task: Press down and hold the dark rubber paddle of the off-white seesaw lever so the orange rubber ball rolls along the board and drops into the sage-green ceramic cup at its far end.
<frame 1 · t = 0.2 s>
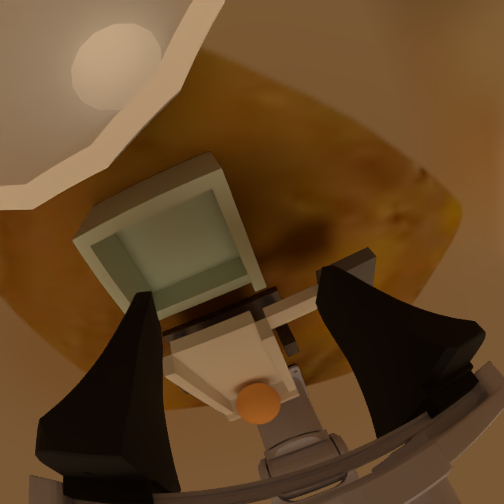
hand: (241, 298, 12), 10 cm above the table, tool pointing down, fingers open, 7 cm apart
lever stand: (225, 324, 26), on the table
ball: (258, 403, 23), point 7 cm above the table, touching lever board
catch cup: (174, 232, 20), on the table
foam cup: (117, 66, 13), on the table
lever board: (282, 347, 22), point 5 cm above the table, hinge at -10.0°, touching ball
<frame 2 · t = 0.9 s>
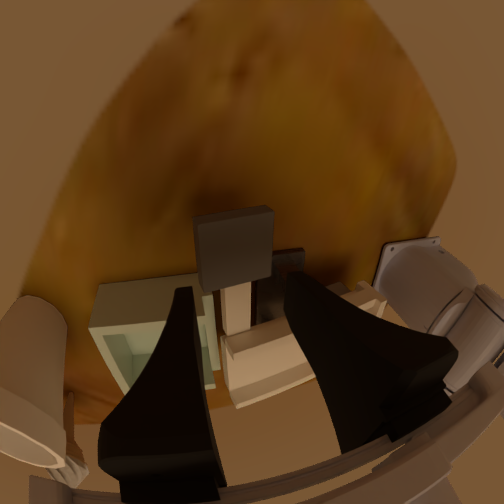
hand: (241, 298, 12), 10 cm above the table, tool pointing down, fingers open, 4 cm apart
lever stand: (275, 303, 26), on the table
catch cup: (161, 319, 24), on the table
foam cup: (39, 320, 20), on the table
ice cream cone: (71, 390, 26), on the table
lever board: (300, 305, 20), point 5 cm above the table, hinge at -10.0°, touching ball
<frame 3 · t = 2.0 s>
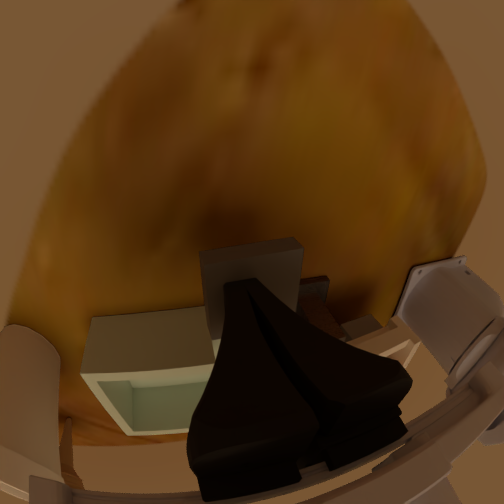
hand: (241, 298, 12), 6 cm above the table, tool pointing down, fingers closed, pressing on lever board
lever stand: (293, 334, 23), on the table
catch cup: (164, 353, 20), on the table
foam cup: (30, 349, 17), on the table
ice cream cone: (68, 416, 23), on the table
lever board: (326, 346, 16), point 5 cm above the table, hinge at -5.1°, touching ball, gripper
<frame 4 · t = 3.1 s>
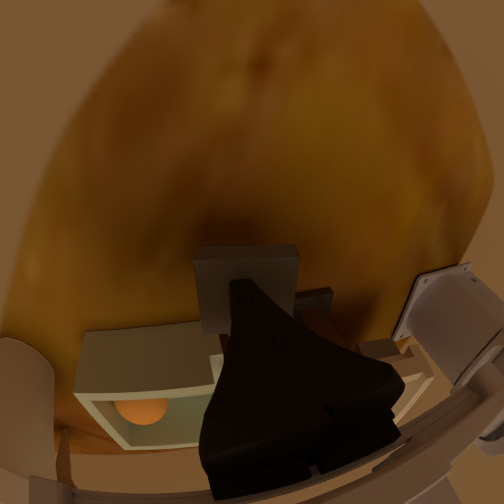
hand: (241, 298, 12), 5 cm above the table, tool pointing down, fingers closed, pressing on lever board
lever stand: (294, 346, 21), on the table
ball: (140, 398, 17), point 3 cm above the table, tilted 122°, touching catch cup
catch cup: (160, 368, 19), on the table
foam cup: (23, 361, 16), on the table
ice cream cone: (65, 426, 22), on the table
lever board: (330, 363, 15), point 5 cm above the table, hinge at 10.1°, touching gripper
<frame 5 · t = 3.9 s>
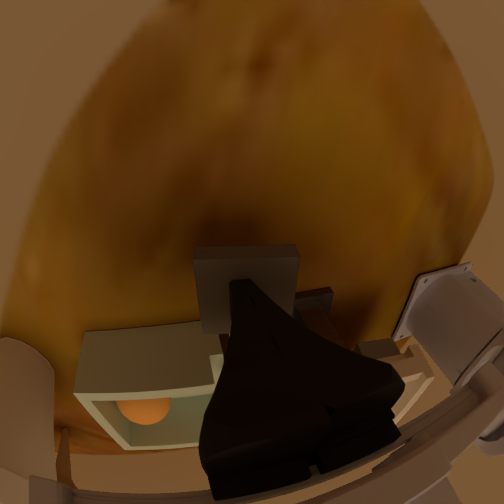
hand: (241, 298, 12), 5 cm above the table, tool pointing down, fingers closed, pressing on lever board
lever stand: (294, 346, 21), on the table
ball: (142, 397, 17), point 3 cm above the table, tilted 117°, touching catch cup
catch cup: (160, 368, 19), on the table
foam cup: (23, 361, 16), on the table
ice cream cone: (65, 426, 22), on the table
lever board: (330, 363, 15), point 5 cm above the table, hinge at 10.1°, touching gripper
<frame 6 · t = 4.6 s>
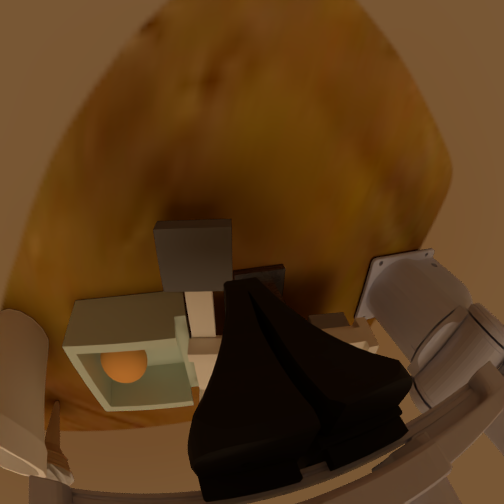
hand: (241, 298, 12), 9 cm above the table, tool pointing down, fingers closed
lever stand: (256, 319, 25), on the table
ball: (123, 359, 20), point 3 cm above the table, tilted 112°, touching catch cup
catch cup: (139, 335, 22), on the table
foam cup: (22, 332, 19), on the table
ice cream cone: (57, 399, 25), on the table
lever board: (276, 327, 19), point 5 cm above the table, hinge at 10.1°
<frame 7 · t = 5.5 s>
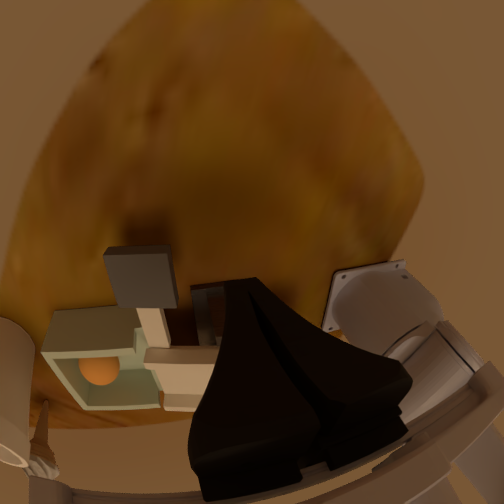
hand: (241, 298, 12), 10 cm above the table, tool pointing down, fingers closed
lever stand: (218, 330, 26), on the table
ball: (98, 363, 21), point 3 cm above the table, tilted 106°, touching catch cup
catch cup: (111, 342, 23), on the table
foam cup: (11, 337, 20), on the table
ice cream cone: (46, 398, 26), on the table
lever board: (225, 340, 20), point 5 cm above the table, hinge at 10.1°
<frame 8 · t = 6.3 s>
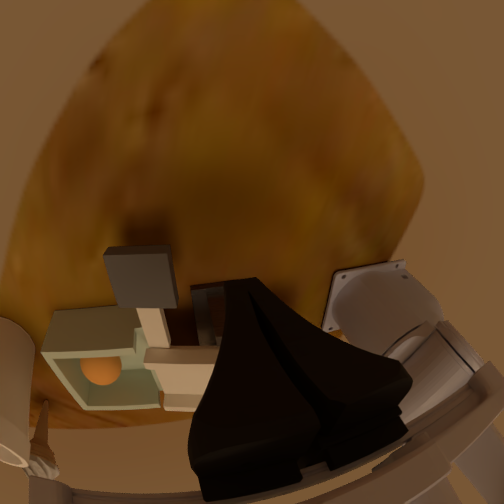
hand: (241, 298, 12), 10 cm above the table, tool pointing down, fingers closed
lever stand: (218, 330, 26), on the table
ball: (100, 363, 21), point 3 cm above the table, tilted 101°, touching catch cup
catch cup: (111, 342, 23), on the table
foam cup: (11, 337, 20), on the table
ice cream cone: (46, 398, 26), on the table
lever board: (225, 340, 20), point 5 cm above the table, hinge at 10.1°
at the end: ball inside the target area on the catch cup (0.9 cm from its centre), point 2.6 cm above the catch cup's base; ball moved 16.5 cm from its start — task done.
